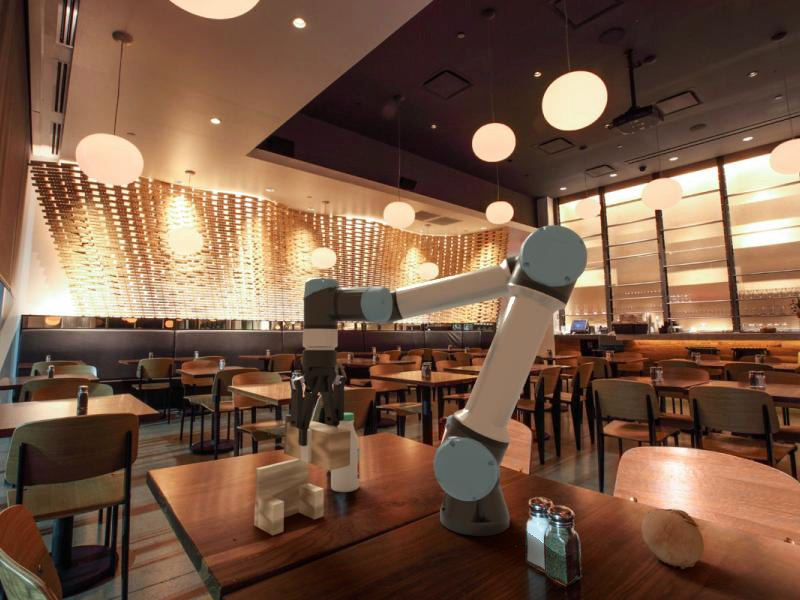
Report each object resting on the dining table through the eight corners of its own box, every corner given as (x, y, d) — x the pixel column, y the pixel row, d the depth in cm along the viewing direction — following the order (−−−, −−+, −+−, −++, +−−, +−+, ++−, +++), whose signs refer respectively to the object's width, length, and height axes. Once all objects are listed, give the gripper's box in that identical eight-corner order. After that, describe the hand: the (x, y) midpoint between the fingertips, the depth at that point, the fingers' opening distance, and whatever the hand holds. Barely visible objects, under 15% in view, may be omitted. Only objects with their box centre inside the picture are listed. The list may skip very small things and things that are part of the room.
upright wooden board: (323, 516, 96) (324, 462, 97) (272, 535, 86) (274, 475, 87) (304, 507, 100) (305, 456, 102) (254, 525, 91) (255, 468, 92)
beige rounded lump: (693, 578, 75) (717, 527, 75) (684, 584, 69) (710, 529, 69) (638, 541, 82) (660, 494, 82) (626, 544, 76) (649, 493, 76)
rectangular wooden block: (349, 465, 85) (350, 423, 86) (330, 470, 82) (331, 426, 83) (302, 449, 97) (304, 412, 98) (283, 453, 93) (285, 415, 94)
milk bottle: (354, 494, 109) (354, 416, 111) (326, 492, 111) (327, 415, 113) (362, 484, 117) (363, 411, 119) (336, 482, 118) (337, 410, 121)
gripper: (341, 348, 100) (339, 447, 98) (273, 348, 87) (269, 463, 85) (362, 348, 95) (360, 453, 93) (293, 349, 82) (290, 471, 80)
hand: (317, 458), depth 89 cm, fingers closed on rectangular wooden block, 5 cm apart
